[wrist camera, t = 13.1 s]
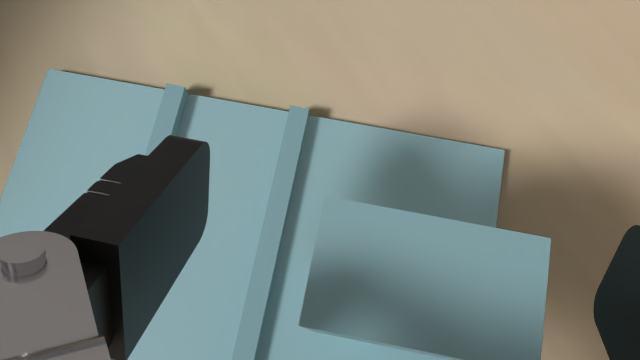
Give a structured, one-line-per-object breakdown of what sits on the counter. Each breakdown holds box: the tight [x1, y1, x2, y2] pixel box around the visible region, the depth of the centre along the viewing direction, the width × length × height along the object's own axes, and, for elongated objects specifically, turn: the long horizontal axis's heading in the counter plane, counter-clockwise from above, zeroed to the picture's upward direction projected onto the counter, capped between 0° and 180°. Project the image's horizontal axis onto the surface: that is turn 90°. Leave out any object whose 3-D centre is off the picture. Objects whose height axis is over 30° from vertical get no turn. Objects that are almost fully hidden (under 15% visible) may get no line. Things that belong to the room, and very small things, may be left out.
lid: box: [0, 69, 551, 360], centre depth 13 cm, size 15×11×9 cm
